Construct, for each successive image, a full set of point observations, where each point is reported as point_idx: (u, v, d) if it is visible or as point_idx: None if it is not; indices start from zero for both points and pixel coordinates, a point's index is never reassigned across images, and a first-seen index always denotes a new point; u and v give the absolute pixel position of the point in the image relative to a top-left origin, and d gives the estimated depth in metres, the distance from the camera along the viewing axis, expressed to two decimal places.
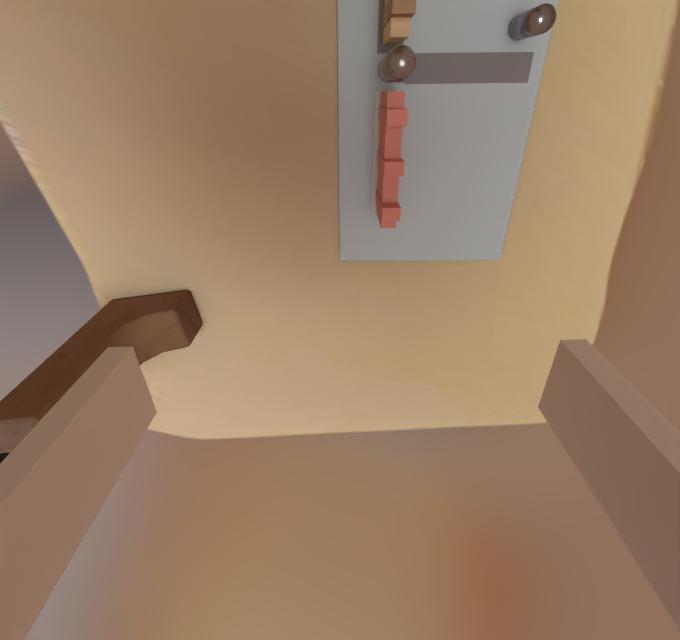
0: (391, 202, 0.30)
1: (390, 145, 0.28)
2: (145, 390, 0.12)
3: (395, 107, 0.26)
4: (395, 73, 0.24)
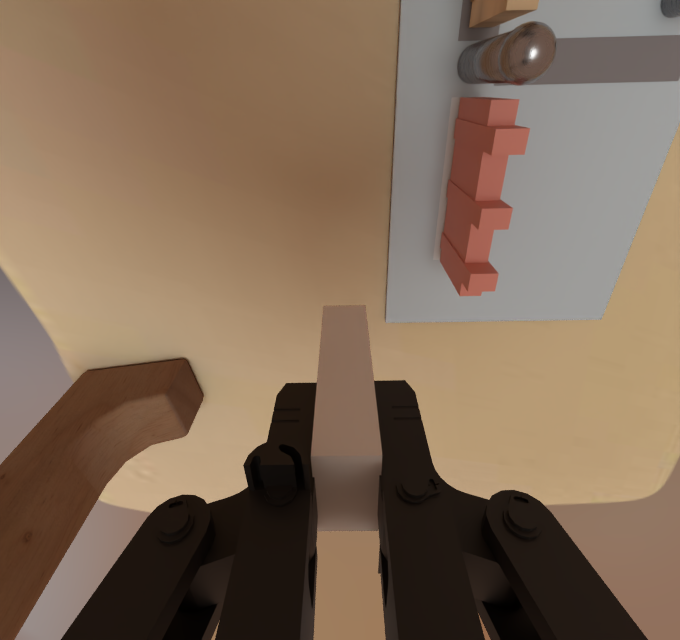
0: (478, 261, 0.20)
1: (486, 181, 0.18)
2: None
3: (501, 124, 0.17)
4: (520, 70, 0.14)
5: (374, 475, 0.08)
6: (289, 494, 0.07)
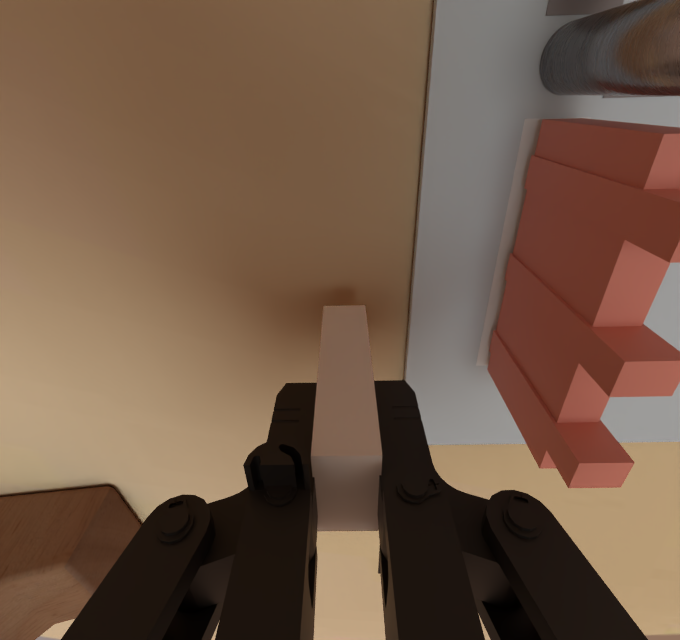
0: (582, 420, 0.11)
1: (622, 294, 0.09)
2: None
3: (675, 185, 0.08)
4: None
5: (374, 475, 0.08)
6: (289, 494, 0.07)
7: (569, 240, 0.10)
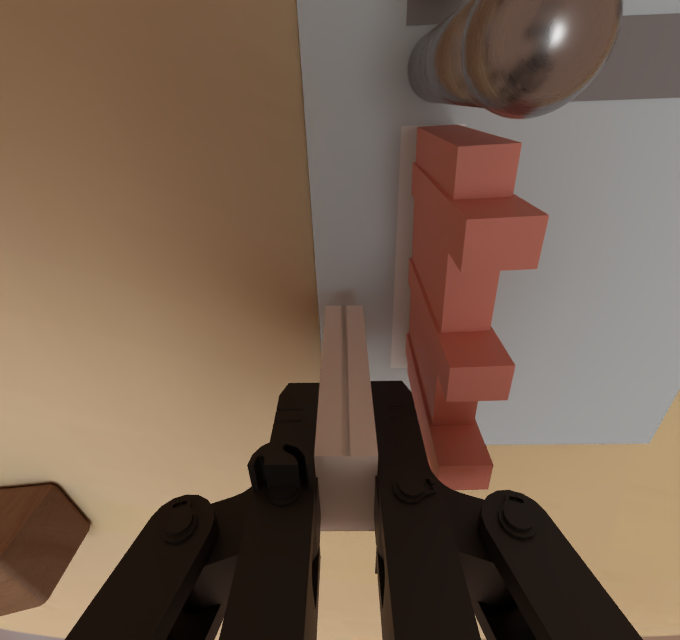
0: (457, 423, 0.11)
1: (461, 300, 0.09)
2: None
3: (483, 195, 0.08)
4: (519, 82, 0.05)
5: (370, 475, 0.08)
6: (293, 494, 0.07)
7: (430, 247, 0.10)
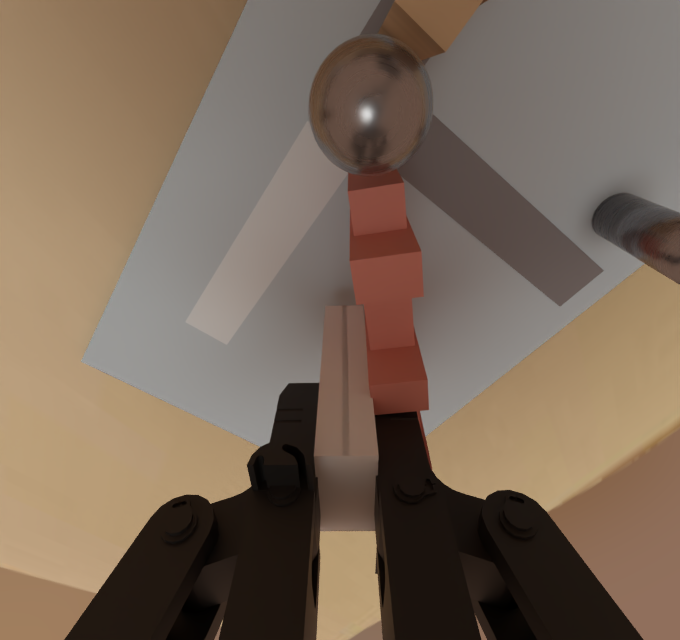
0: None
1: (381, 321, 0.10)
2: None
3: (380, 230, 0.09)
4: (330, 128, 0.06)
5: (370, 475, 0.08)
6: (292, 494, 0.07)
7: None
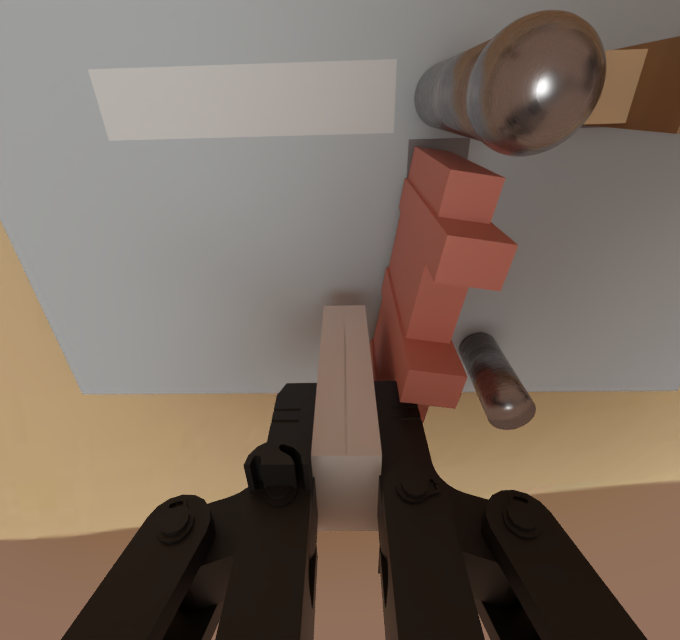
0: None
1: (428, 310, 0.10)
2: None
3: (464, 218, 0.08)
4: (520, 58, 0.05)
5: (374, 475, 0.08)
6: (289, 494, 0.07)
7: (408, 258, 0.11)
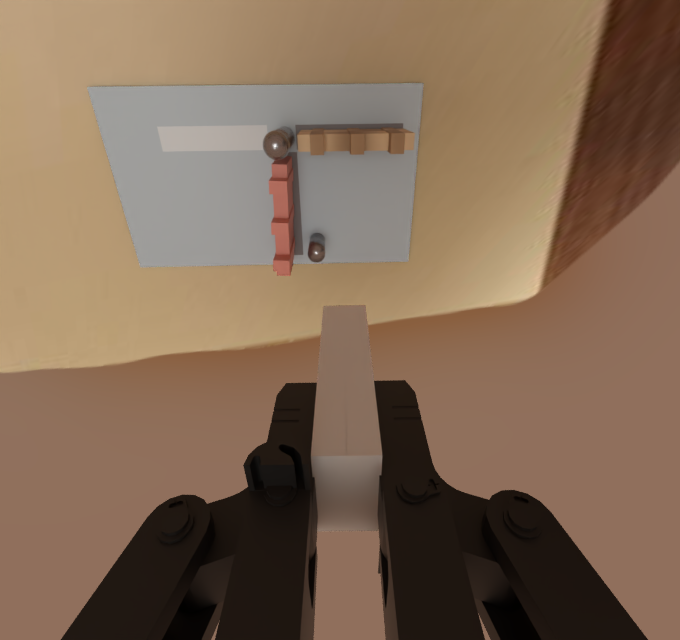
0: (284, 254, 0.34)
1: (278, 207, 0.32)
2: None
3: (279, 177, 0.30)
4: (267, 140, 0.27)
5: (374, 475, 0.08)
6: (289, 494, 0.07)
7: None
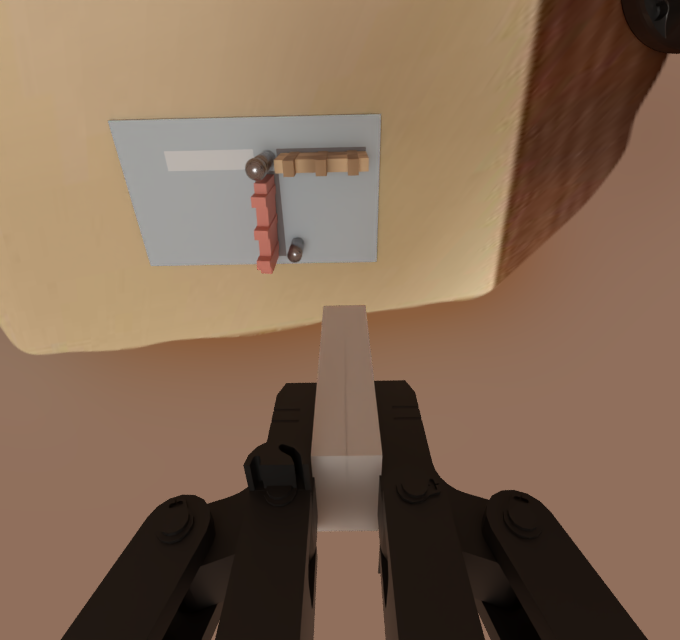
0: (266, 255, 0.41)
1: (260, 217, 0.39)
2: None
3: (260, 193, 0.37)
4: (248, 166, 0.34)
5: (374, 475, 0.08)
6: (289, 494, 0.07)
7: None
